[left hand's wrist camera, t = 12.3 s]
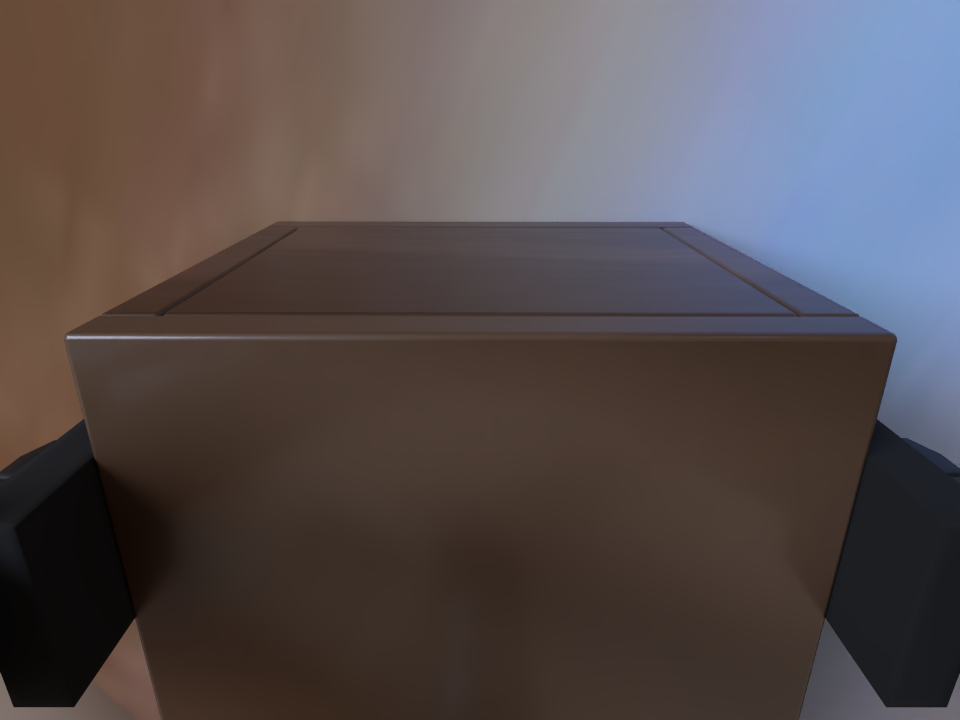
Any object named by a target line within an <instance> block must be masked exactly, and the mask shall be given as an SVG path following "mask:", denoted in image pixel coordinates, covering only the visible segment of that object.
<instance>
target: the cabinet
mask: <svg viewBox="0 0 960 720" xmlns="http://www.w3.org/2000/svg"><path fill="white" fill-rule="evenodd" d="M64 342H65V346H66V350H67V354H68V358H69V362H70V365H71V369H72V373H73V377H74V381H75V385H76V389H77V393H78V397H79V401H80V404H81V408H82V412H83V416H84V420H85V424H86V428H87V432H88V436H89V439H90V443H91V447H92V451H93V455H94V459H95V463H96V467H97V471H98V475H99V478H100V482H101V486H102V490H103V494H104V498H105V502H106V506H107V510H108V514H109V517H110V521H111V525H112V529H113V533H114V537H115V541H116V545H117V549H118V552H119V556H120V560H121V564H122V568H123V572H124V576H125V580H126V584H127V588H128V591H129V595H130V599H131V603H132V607H133V611H134V615H135V619H136V623H137V627H138V630H139V634H140V638H141V642H142V646H143V650H144V654H145V658H146V662H147V665H148V669H149V673H150V677H151V681H152V685H153V689H154V693H155V697H156V701H157V704H158V708H159V712H160V716H161V720H799V716H800V712H801V708H802V704H803V701H804V697H805V693H806V689H807V685H808V681H809V678H810V674H811V670H812V666H813V662H814V658H815V654H816V651H817V647H818V643H819V639H820V635H821V631H822V628H823V624H824V620H825V616H826V612H827V608H828V604H829V601H830V597H831V593H832V589H833V585H834V581H835V577H836V574H837V570H838V566H839V562H840V558H841V554H842V551H843V547H844V543H845V539H846V535H847V531H848V527H849V524H850V520H851V516H852V512H853V508H854V504H855V501H856V497H857V493H858V489H859V485H860V481H861V477H862V474H863V470H864V466H865V462H866V458H867V454H868V451H869V447H870V443H871V439H872V435H873V431H874V427H875V424H876V420H877V416H878V412H879V408H880V404H881V401H882V397H883V393H884V389H885V385H886V381H887V377H888V374H889V370H890V366H891V362H892V358H893V354H894V351H895V347H896V343H897V338H896V335H895V334H893V333H891V332H889V331H888V330H886V329H884V328H882V327H880V326H878V325H876V324H874V323H872V322H871V321H869V320H867V319H865V318H862V317H859V315H858V314H856V313H855V312H853V311H851V310H849V309H847V308H845V307H843V306H841V305H839V304H837V303H836V302H834V301H832V300H830V299H828V298H826V297H824V296H822V295H820V294H819V293H817V292H815V291H813V290H811V289H809V288H807V287H805V286H803V285H801V284H800V283H798V282H796V281H794V280H792V279H790V278H788V277H786V276H784V275H783V274H781V273H779V272H777V271H775V270H773V269H771V268H769V267H767V266H765V265H764V264H762V263H760V262H758V261H756V260H754V259H752V258H750V257H748V256H747V255H745V254H743V253H741V252H739V251H737V250H735V249H733V248H731V247H729V246H728V245H726V244H724V243H722V242H720V241H718V240H716V239H714V238H712V237H711V236H709V235H707V234H705V233H703V232H701V231H699V230H697V229H695V228H693V227H691V226H689V225H687V224H686V223H683V222H276V223H274V224H272V225H270V226H268V227H267V228H265V229H263V230H261V231H259V232H257V233H255V234H253V235H251V236H249V237H247V238H246V239H244V240H242V241H240V242H238V243H236V244H234V245H232V246H230V247H228V248H227V249H225V250H223V251H221V252H219V253H217V254H215V255H213V256H211V257H210V258H208V259H206V260H204V261H202V262H200V263H198V264H196V265H194V266H192V267H191V268H189V269H187V270H185V271H183V272H181V273H179V274H177V275H175V276H173V277H172V278H170V279H168V280H166V281H164V282H162V283H160V284H158V285H156V286H154V287H153V288H151V289H149V290H147V291H145V292H143V293H141V294H139V295H137V296H136V297H134V298H132V299H130V300H128V301H126V302H124V303H122V304H120V305H118V306H117V307H115V308H113V309H111V310H109V311H107V312H105V313H103V314H102V316H99V317H96V318H94V319H92V320H91V321H89V322H87V323H85V324H83V325H81V326H79V327H77V328H75V329H73V330H72V331H70V332H68V333H66V334H65V336H64Z"/></svg>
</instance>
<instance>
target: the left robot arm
mask: <svg viewBox="0 0 960 720" xmlns="http://www.w3.org/2000/svg"><path fill="white" fill-rule="evenodd" d="M134 618H135V615H134V611H133V607H132V603H131V599H130V595H129V591H128V588H127V584H126V580H125V576H124V572H123V568H122V564H121V560H120V556H119V552H118V549H117V545H116V541H115V537H114V533H113V529H112V525H111V521H110V517H109V514H108V510H107V506H106V502H105V498H104V494H103V490H102V486H101V482H100V478H99V475H98V471H97V467H96V463H95V459H94V455H93V451H92V447H91V443H90V439H89V436H88V432H87V428H86V424H85V420H84V419H83V420H82V421H81V422H79V423H78V424H77V425H76V426H74V427H73V428H72V429H70V430H69V431H68V432H67V433H65V434H64V435H63V436H61V437H60V438H59V439H58V440H54V441H52V442H50V443H48V444H46V445H44V446H42V447H40V448H37V449H35V450H33V451H31V452H29V453H27V454H25V455H23V456H21V457H19V458H18V459H17V460H15V461H14V462H13V463H11V464H10V465H9V466H7V467H6V468H5V469H3V470H2V471H1V472H0V672H1V675H2V677H3V680H4V683H5V685H6V688H7V691H8V693H9V696H10V698H11V701H12V704H13V706H14V707H75V705H76V704H77V702H78V701H79V699H80V698H81V696H82V695H83V693H84V692H85V690H86V689H87V687H88V686H89V684H90V683H91V682H92V680H93V679H94V677H95V676H96V674H97V673H98V671H99V670H100V668H101V667H102V665H103V664H104V662H105V661H106V660H107V658H108V657H109V655H110V654H111V652H112V651H113V649H114V648H115V646H116V645H117V643H118V642H119V640H120V639H121V637H122V636H123V635H124V633H125V632H126V630H127V629H128V627H129V626H130V624H131V623H132V621H133V620H134ZM825 618H826V619H827V621H828V622H829V624H830V625H831V627H832V628H833V630H834V631H835V633H836V634H837V635H838V637H839V638H840V640H841V641H842V643H843V644H844V646H845V647H846V649H847V650H848V652H849V653H850V655H851V656H852V658H853V659H854V660H855V662H856V663H857V665H858V666H859V668H860V669H861V671H862V672H863V674H864V675H865V677H866V678H867V680H868V681H869V682H870V684H871V685H872V687H873V688H874V690H875V691H876V693H877V694H878V696H879V697H880V699H881V700H882V702H883V703H884V705H885V706H886V707H947V705H948V702H949V700H950V697H951V694H952V692H953V689H954V687H955V684H956V681H957V679H958V676H959V674H960V468H958V467H957V466H956V465H954V464H953V463H952V462H950V461H949V460H948V459H946V458H945V457H944V456H942V455H941V454H939V453H937V452H935V451H933V450H930V449H928V448H926V447H924V446H922V445H920V444H918V443H916V442H913V441H911V440H909V439H907V438H900V437H899V436H898V435H896V434H895V433H894V432H893V431H891V430H890V429H889V428H887V427H886V426H885V425H884V424H882V423H881V422H880V421H878V420H876V424H875V427H874V431H873V435H872V439H871V443H870V447H869V451H868V454H867V458H866V462H865V466H864V470H863V474H862V477H861V481H860V485H859V489H858V493H857V497H856V501H855V504H854V508H853V512H852V516H851V520H850V524H849V527H848V531H847V535H846V539H845V543H844V547H843V551H842V554H841V558H840V562H839V566H838V570H837V574H836V577H835V581H834V585H833V589H832V593H831V597H830V601H829V604H828V608H827V612H826V616H825Z"/></svg>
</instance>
